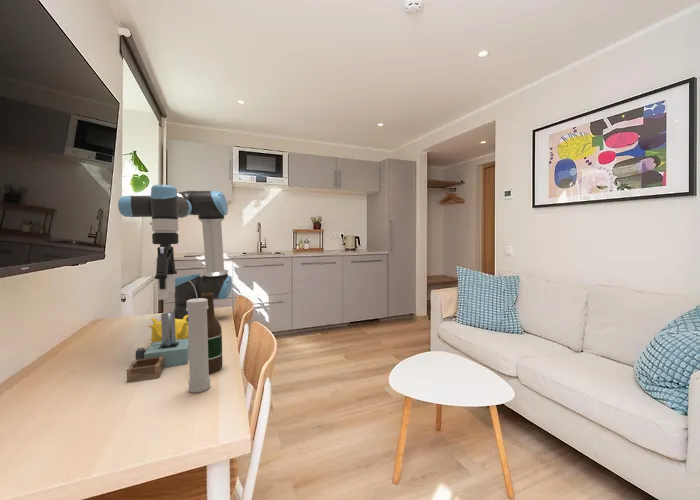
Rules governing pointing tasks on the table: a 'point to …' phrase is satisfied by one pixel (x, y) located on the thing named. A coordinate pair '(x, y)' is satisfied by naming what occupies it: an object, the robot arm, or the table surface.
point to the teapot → (180, 329)
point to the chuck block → (170, 352)
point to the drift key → (140, 353)
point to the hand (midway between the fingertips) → (167, 296)
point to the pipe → (198, 344)
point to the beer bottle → (213, 336)
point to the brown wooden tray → (145, 369)
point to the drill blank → (168, 330)
